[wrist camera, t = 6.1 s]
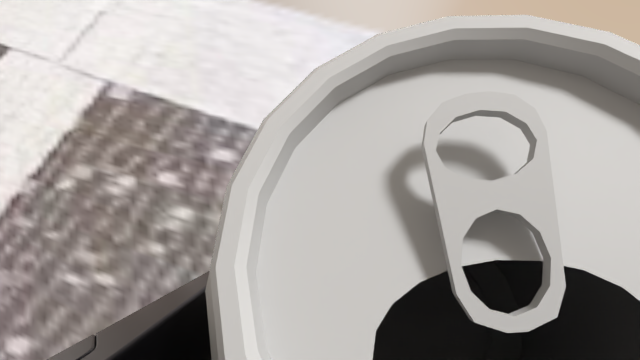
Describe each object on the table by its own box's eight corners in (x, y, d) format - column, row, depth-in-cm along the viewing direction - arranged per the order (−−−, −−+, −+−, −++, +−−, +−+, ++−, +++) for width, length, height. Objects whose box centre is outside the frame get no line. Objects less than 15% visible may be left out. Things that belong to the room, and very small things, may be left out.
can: (313, 440, 14) (69, 845, 3) (305, 231, 16) (174, 3, 6) (539, 431, 13) (1510, 924, 2) (487, 215, 16) (749, -80, 5)
